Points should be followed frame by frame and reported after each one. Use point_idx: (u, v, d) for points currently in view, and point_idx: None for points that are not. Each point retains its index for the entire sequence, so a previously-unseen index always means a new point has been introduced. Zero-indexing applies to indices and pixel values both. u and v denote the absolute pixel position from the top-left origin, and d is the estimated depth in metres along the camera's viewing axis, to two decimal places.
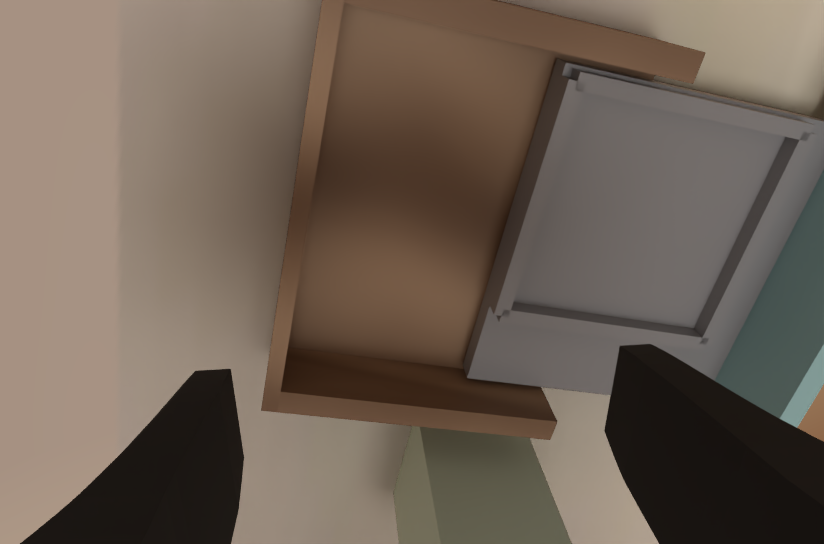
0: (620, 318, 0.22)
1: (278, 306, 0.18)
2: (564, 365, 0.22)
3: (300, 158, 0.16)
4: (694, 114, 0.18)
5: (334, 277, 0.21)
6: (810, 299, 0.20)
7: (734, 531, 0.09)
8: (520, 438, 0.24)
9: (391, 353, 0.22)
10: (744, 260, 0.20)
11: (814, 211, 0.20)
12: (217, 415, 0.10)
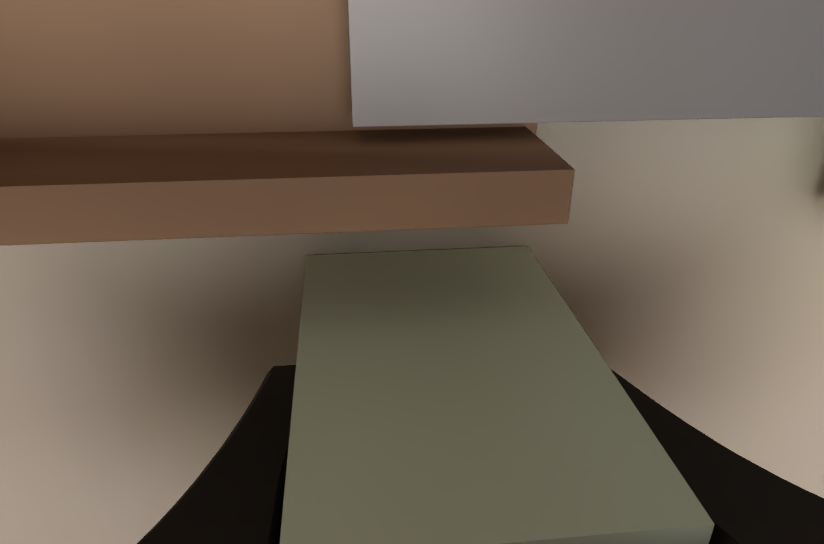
0: None
1: None
2: (573, 56, 0.10)
3: None
4: None
5: None
6: None
7: None
8: (523, 270, 0.12)
9: (188, 117, 0.10)
10: None
11: None
12: None
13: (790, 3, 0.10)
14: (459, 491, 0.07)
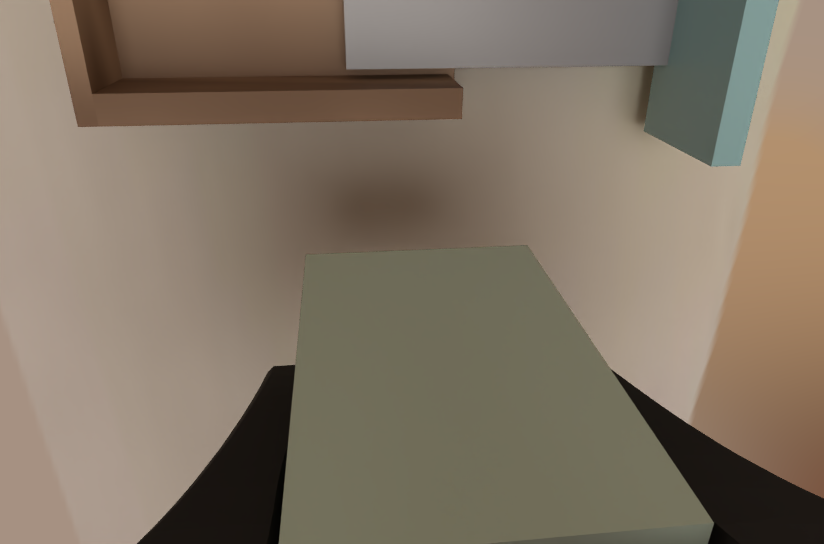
0: None
1: None
2: (467, 30, 0.17)
3: None
4: None
5: None
6: None
7: None
8: (522, 269, 0.12)
9: (253, 66, 0.18)
10: None
11: None
12: None
13: (586, 1, 0.17)
14: (460, 489, 0.07)
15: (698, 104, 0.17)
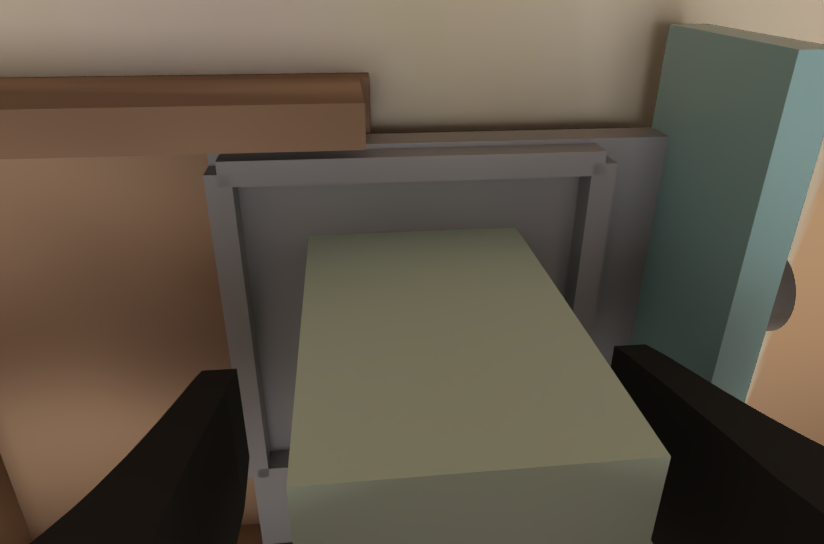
0: None
1: None
2: None
3: None
4: (415, 178, 0.12)
5: (53, 457, 0.16)
6: None
7: (727, 531, 0.09)
8: (510, 248, 0.13)
9: None
10: None
11: (656, 261, 0.14)
12: (224, 415, 0.10)
13: None
14: (448, 430, 0.08)
15: None
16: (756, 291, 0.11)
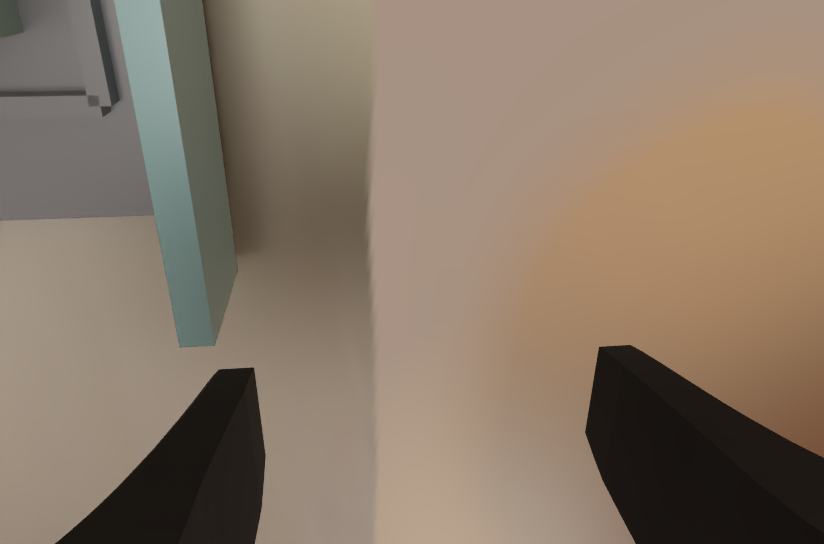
0: None
1: None
2: None
3: None
4: None
5: None
6: None
7: (707, 534, 0.09)
8: None
9: None
10: None
11: None
12: (243, 413, 0.10)
13: (71, 152, 0.16)
14: None
15: None
16: None
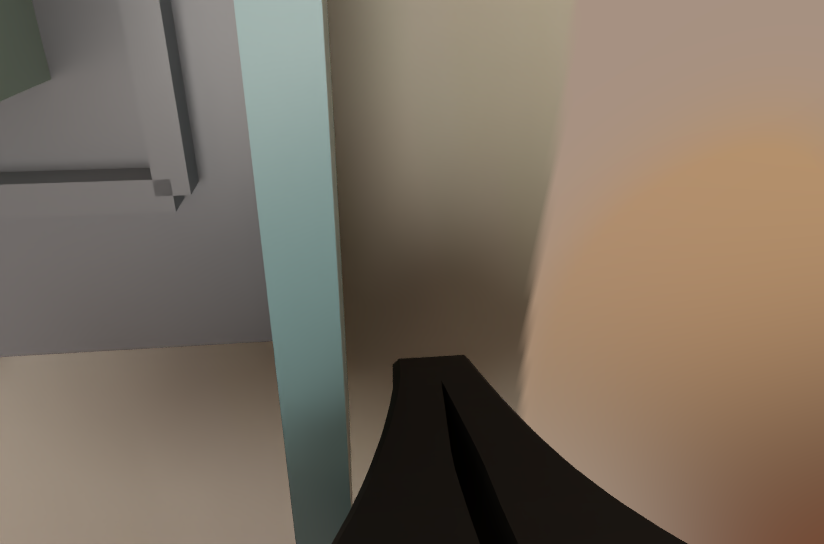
0: None
1: None
2: None
3: None
4: None
5: None
6: None
7: None
8: None
9: None
10: None
11: None
12: None
13: (122, 259, 0.10)
14: None
15: None
16: None
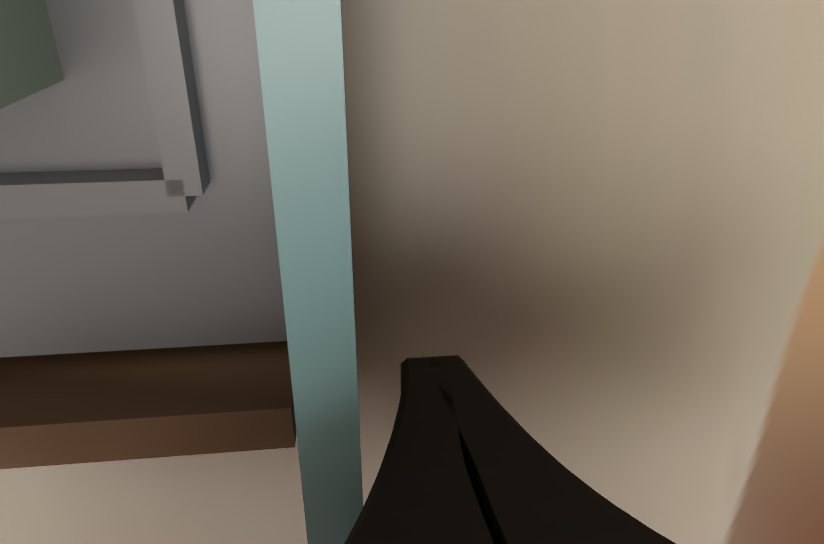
0: None
1: None
2: None
3: None
4: None
5: None
6: None
7: None
8: None
9: None
10: None
11: None
12: None
13: (133, 259, 0.10)
14: None
15: None
16: None
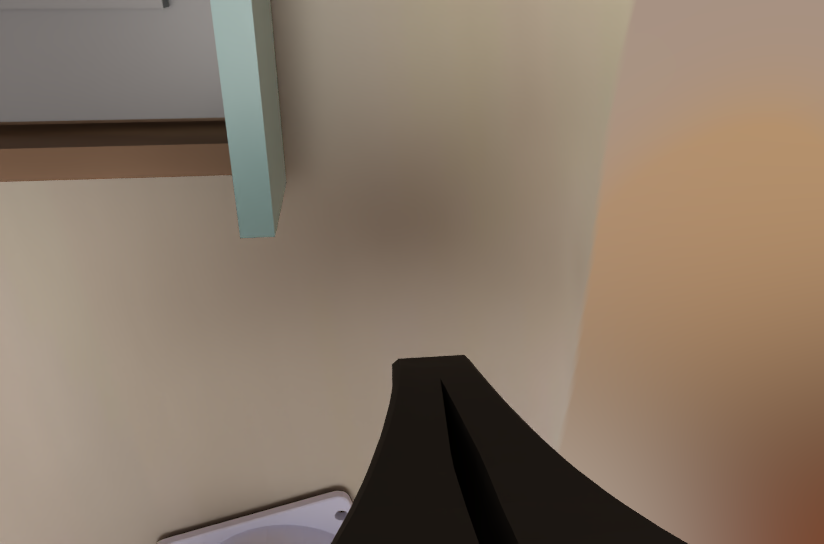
0: None
1: None
2: None
3: None
4: None
5: None
6: None
7: None
8: None
9: None
10: None
11: None
12: None
13: (129, 49, 0.16)
14: None
15: None
16: None
